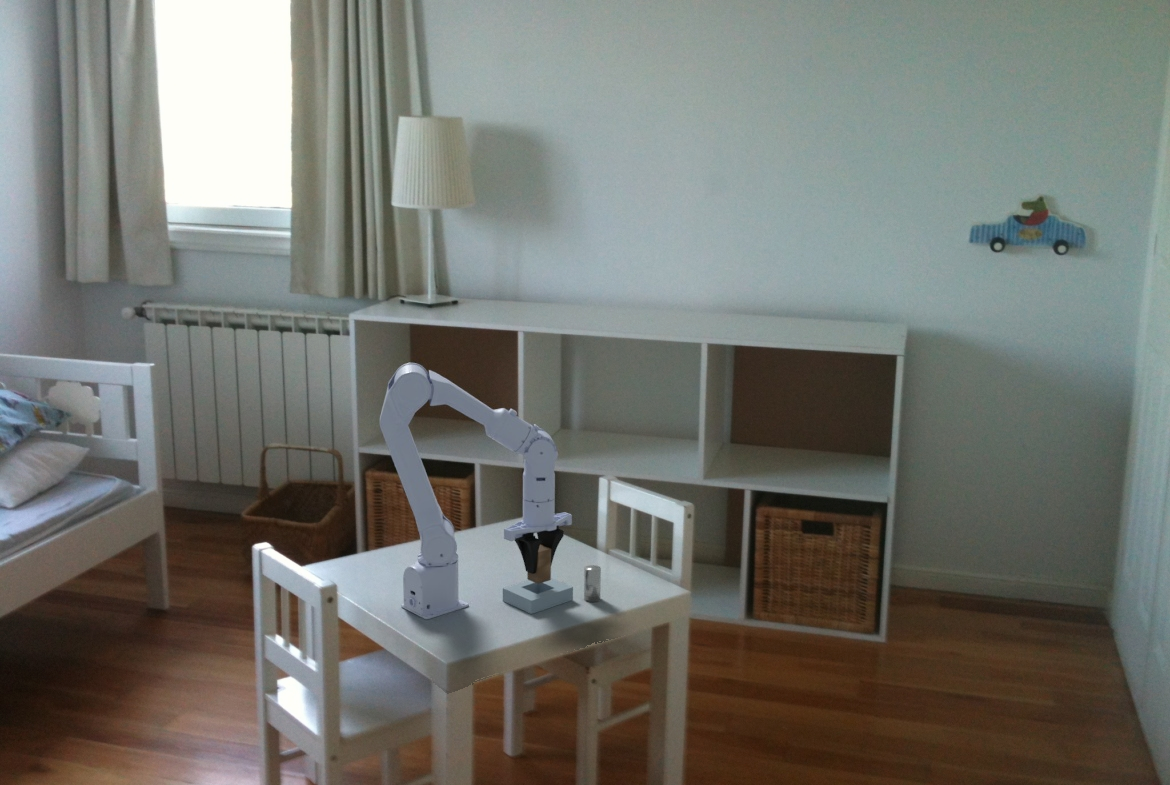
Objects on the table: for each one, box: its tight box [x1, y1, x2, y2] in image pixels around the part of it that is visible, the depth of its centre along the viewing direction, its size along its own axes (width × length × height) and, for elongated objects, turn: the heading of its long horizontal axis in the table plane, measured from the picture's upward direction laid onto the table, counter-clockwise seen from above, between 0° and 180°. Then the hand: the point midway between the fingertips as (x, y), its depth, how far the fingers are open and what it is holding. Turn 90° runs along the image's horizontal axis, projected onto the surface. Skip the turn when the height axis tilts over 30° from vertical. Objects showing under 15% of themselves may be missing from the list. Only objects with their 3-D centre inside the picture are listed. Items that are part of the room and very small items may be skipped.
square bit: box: [526, 544, 552, 584], centre depth 206 cm, size 3×3×6 cm
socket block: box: [502, 577, 574, 615], centre depth 207 cm, size 10×8×2 cm
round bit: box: [583, 564, 602, 603], centre depth 208 cm, size 3×3×6 cm
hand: (538, 569), depth 206 cm, fingers closed on square bit, 3 cm apart
